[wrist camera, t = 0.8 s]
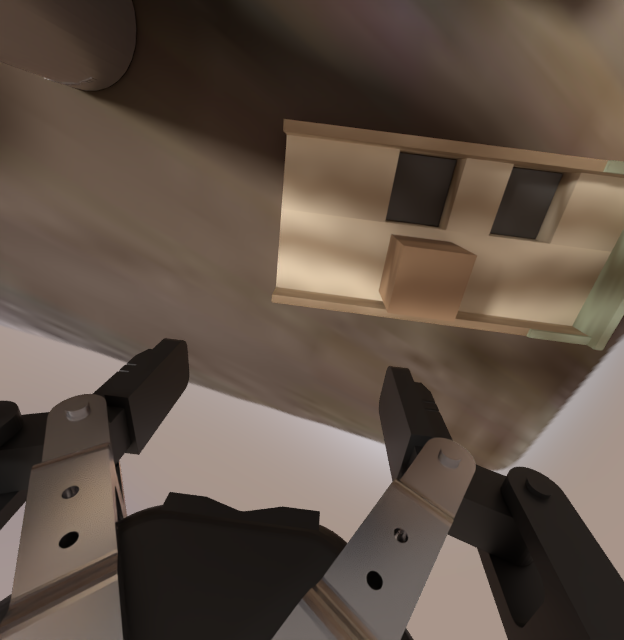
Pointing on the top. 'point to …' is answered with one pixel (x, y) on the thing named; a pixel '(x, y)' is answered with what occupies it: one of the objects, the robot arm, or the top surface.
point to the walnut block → (425, 277)
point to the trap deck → (455, 228)
